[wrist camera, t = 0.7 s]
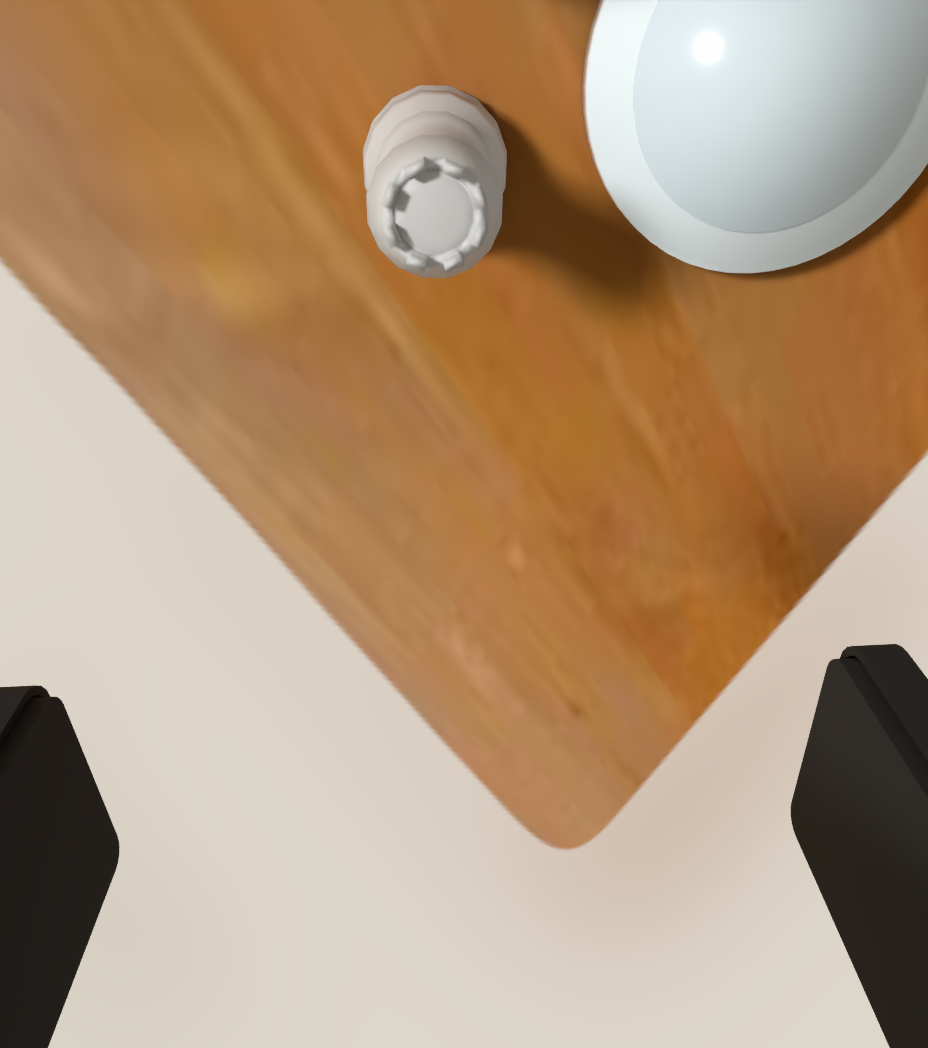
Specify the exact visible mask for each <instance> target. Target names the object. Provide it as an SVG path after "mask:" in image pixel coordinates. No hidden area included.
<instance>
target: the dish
mask: <svg viewBox="0 0 928 1048" xmlns="http://www.w3.org/2000/svg"><path fill="white" fill-rule="evenodd" d="M582 113H583V120H584V127H585V134H586V139H587V143H588V146H589V150H590V154H591V157H592V161H593V163H594V166H595V168H596V171H597V173H598V175H599V178H600V180H601V182H602V184H603V186H604V188H605V189H606V191H607V193H608V194H609V196H610V198H611V199H612V201H613V203H614V204H615V205H616V206H617V208H618V209H619V210H620V211H621V213H622V214H623V215H624V216H625V218H626V219H627V220H628V221H629V222H630V223H631V224H632V225H633V226H634V227H635V228H636V229H637V230H638V231H639V232H640V233H641V234H642V235H643V236H644V237H646V238H647V239H648V240H649V241H650V242H651V243H653V244H654V245H656V246H657V247H659V248H660V249H661V250H663V251H664V252H666V253H667V254H669V255H671V256H673V257H675V258H677V259H680V260H682V261H684V262H686V263H688V264H691V265H695V266H698V267H701V268H704V269H708V270H714V271H720V272H726V273H758V272H767V271H774V270H778V269H782V268H787V267H791V266H795V265H798V264H801V263H803V262H806V261H809V260H811V259H814V258H817V257H819V256H821V255H823V254H825V253H827V252H829V251H831V250H833V249H835V248H837V247H839V246H841V245H842V244H844V243H845V242H847V241H849V240H850V239H852V238H853V237H855V236H856V235H858V234H859V233H861V232H862V231H864V230H865V229H866V228H867V227H869V226H870V225H871V224H872V223H874V222H875V221H876V220H877V219H879V218H880V217H881V216H882V215H883V214H884V213H885V212H886V211H887V210H889V209H890V208H891V207H892V206H893V205H894V204H895V203H896V202H897V201H898V200H899V199H900V198H901V197H902V196H903V194H904V193H905V192H906V191H907V190H908V189H909V187H910V186H911V185H912V184H913V183H914V181H915V180H916V179H917V178H918V177H919V175H920V174H921V173H922V171H923V170H924V168H925V167H926V165H927V164H928V0H599V3H598V6H597V9H596V12H595V16H594V19H593V22H592V25H591V28H590V32H589V37H588V42H587V47H586V52H585V56H584V66H583V77H582Z"/></svg>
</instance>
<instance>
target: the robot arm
mask: <svg viewBox="0 0 928 1048" xmlns="http://www.w3.org/2000/svg"><path fill="white" fill-rule="evenodd" d="M791 820H792V825H793V829H794V832H795V835H796V837H797V840H798V842H799V844H800V846H801V849H802V851H803V853H804V856H805V858H806V860H807V862H808V865H809V867H810V869H811V871H812V873H813V876H814V878H815V880H816V883H817V885H818V887H819V889H820V892H821V894H822V896H823V898H824V900H825V903H826V905H827V907H828V910H829V912H830V914H831V916H832V919H833V921H834V923H835V925H836V928H837V930H838V932H839V934H840V937H841V939H842V941H843V943H844V946H845V948H846V950H847V952H848V955H849V957H850V959H851V961H852V964H853V965H854V968H855V970H856V972H857V975H858V977H859V979H860V981H861V983H862V986H863V988H864V991H865V993H866V995H867V997H868V1000H869V1002H870V1004H871V1006H872V1009H873V1011H874V1013H875V1015H876V1018H877V1020H878V1022H879V1024H880V1027H881V1029H882V1031H883V1033H884V1036H885V1038H886V1040H887V1042H888V1044H889V1047H890V1048H928V679H927V678H926V676H925V675H924V674H923V672H922V671H921V670H920V668H919V667H918V666H917V664H916V663H915V662H914V661H913V659H912V658H911V657H910V655H909V654H908V652H907V651H905V650H904V648H903V647H901V646H899V645H897V644H888V645H867V646H851V647H847V648H846V649H845V650H844V651H843V652H842V654H841V657H840V659H833V660H831V661H830V662H829V664H828V666H827V669H826V673H825V677H824V681H823V685H822V688H821V692H820V696H819V700H818V704H817V708H816V712H815V715H814V719H813V723H812V727H811V730H810V734H809V738H808V742H807V746H806V750H805V753H804V757H803V761H802V765H801V769H800V772H799V776H798V780H797V784H796V788H795V791H794V795H793V799H792V803H791ZM118 858H119V841H118V837H117V834H116V832H115V829H114V827H113V824H112V822H111V819H110V817H109V814H108V812H107V810H106V807H105V805H104V802H103V800H102V797H101V795H100V793H99V790H98V788H97V785H96V783H95V780H94V778H93V775H92V773H91V770H90V768H89V765H88V763H87V760H86V758H85V756H84V753H83V751H82V748H81V746H80V743H79V741H78V738H77V736H76V734H75V731H74V729H73V726H72V724H71V721H70V719H69V717H68V714H67V712H66V709H65V707H64V704H63V703H62V701H61V700H60V699H59V698H58V697H50V695H49V694H48V692H47V690H46V689H45V688H43V687H42V686H19V687H0V1048H48V1046H49V1043H50V1040H51V1038H52V1035H53V1033H54V1030H55V1027H56V1025H57V1022H58V1020H59V1017H60V1014H61V1012H62V1009H63V1006H64V1004H65V1001H66V999H67V996H68V993H69V990H70V988H71V986H72V983H73V980H74V978H75V975H76V972H77V970H78V967H79V965H80V962H81V959H82V957H83V954H84V951H85V949H86V946H87V944H88V941H89V938H90V936H91V933H92V931H93V928H94V925H95V923H96V920H97V917H98V914H99V912H100V909H101V907H102V904H103V902H104V899H105V896H106V894H107V891H108V888H109V886H110V883H111V881H112V878H113V875H114V873H115V870H116V867H117V864H118Z"/></svg>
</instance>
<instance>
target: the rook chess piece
mask: <svg viewBox="0 0 928 1048" xmlns="http://www.w3.org/2000/svg"><path fill="white" fill-rule="evenodd" d="M506 165H507V150H506V147H505V145H504V142H503V139H502V136H501V133H500V130H499V127H498V124H497V122H496V121H495V119H494V118H493V117H492V116H491V115H490V114H489V112H488V111H487V110H486V109H485V108H484V107H483V105H482V104H481V103H480V102H479V101H478V100H477V99H476V98H474V97H472V96H470V95H468V94H466V93H464V92H462V91H459V90H457V89H455V88H453V87H451V86H429V85H420V86H417V87H415V88H413V89H411V90H409V91H407V92H404V93H402V94H400V95H398V96H396V97H394V98H392V99H391V100H390V102H389V103H388V104H387V105H386V106H385V107H384V108H383V110H382V111H381V112H380V113H379V114H378V115H377V117H376V118H375V119H374V120H373V121H372V124H371V127H370V130H369V133H368V136H367V139H366V143H365V146H364V149H363V166H364V186H365V188H366V190H367V194H366V197H367V217H368V225H369V227H370V229H371V232H372V234H373V236H374V238H375V241H376V243H377V245H378V247H379V249H380V250H381V251H382V252H383V253H384V254H385V255H386V256H387V257H388V258H389V259H390V260H391V261H392V262H393V263H394V264H395V265H396V266H397V267H398V268H400V269H403V270H405V271H408V272H410V273H412V274H415V275H417V276H420V277H422V278H449V277H451V276H454V275H456V274H459V273H461V272H463V271H466V270H468V269H471V268H473V267H474V266H475V265H476V264H477V263H478V262H479V261H480V260H481V259H482V258H483V257H484V256H485V255H486V254H487V253H488V252H489V251H490V250H491V248H492V246H493V243H494V241H495V239H496V236H497V234H498V232H499V229H500V227H501V225H502V204H503V195H502V194H503V192H504V190H505V187H506Z"/></svg>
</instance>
